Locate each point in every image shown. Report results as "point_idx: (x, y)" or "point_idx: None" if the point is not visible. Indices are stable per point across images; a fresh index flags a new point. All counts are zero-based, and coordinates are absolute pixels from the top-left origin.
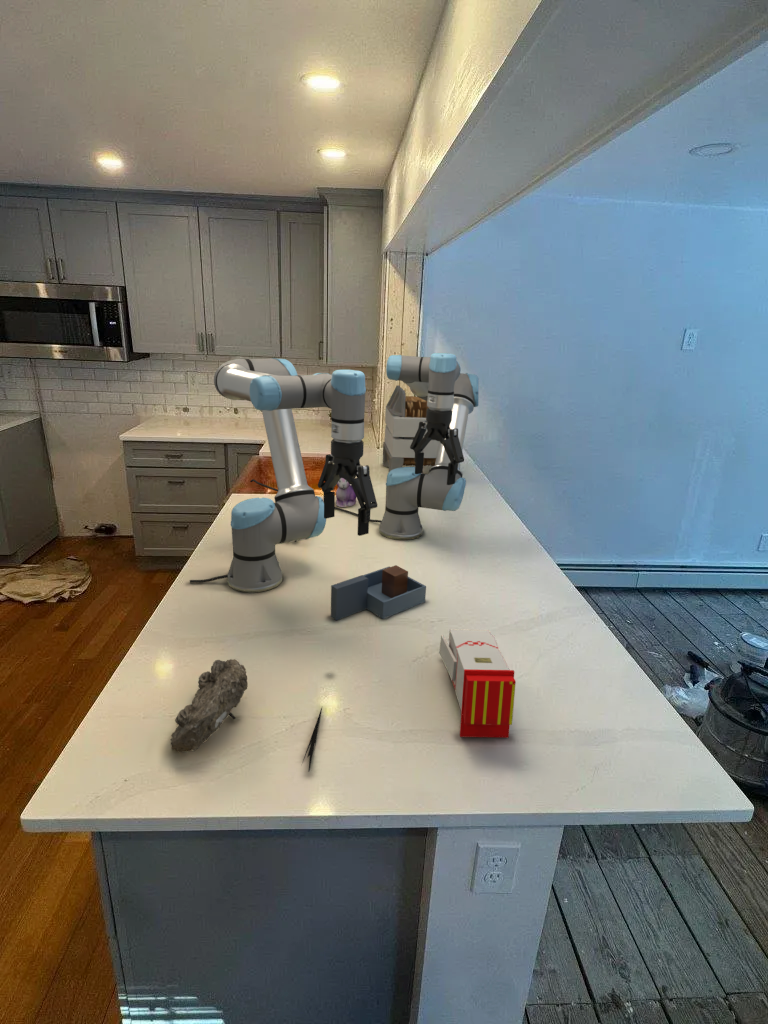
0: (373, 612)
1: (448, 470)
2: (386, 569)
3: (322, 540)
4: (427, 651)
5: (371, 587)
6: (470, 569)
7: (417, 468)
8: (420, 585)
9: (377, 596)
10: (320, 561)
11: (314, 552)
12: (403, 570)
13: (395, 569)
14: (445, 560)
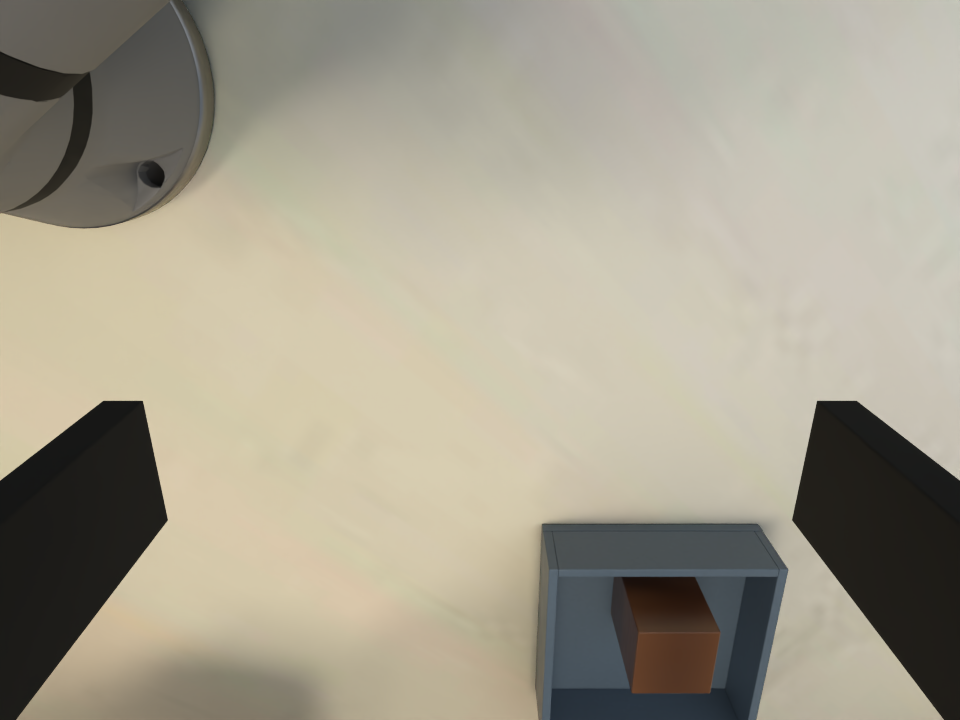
0: None
1: (947, 701)
2: (641, 682)
3: None
4: None
5: (556, 616)
6: (715, 131)
7: (117, 565)
8: (759, 573)
9: None
10: (236, 616)
11: (140, 591)
12: (700, 641)
13: (668, 658)
14: (550, 160)
